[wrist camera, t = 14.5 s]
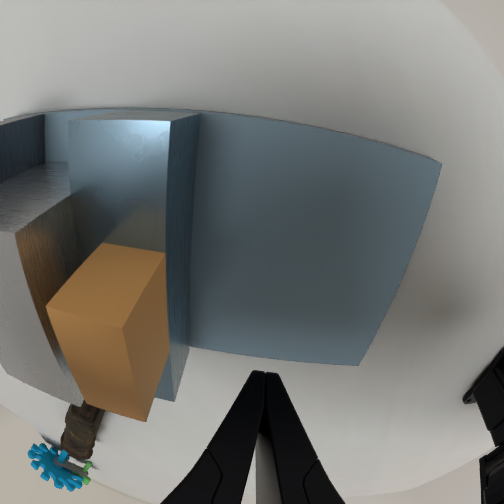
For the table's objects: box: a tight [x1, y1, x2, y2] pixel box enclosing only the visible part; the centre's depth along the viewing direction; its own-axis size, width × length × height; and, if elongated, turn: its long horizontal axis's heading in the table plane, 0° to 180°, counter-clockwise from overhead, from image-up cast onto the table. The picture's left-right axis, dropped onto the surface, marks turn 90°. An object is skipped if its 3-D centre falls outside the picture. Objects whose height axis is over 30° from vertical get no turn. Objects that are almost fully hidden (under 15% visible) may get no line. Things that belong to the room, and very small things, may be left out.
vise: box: [0, 108, 442, 366], centre depth 11 cm, size 19×11×4 cm, turn 82°
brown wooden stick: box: [61, 399, 105, 460], centre depth 20 cm, size 19×4×5 cm, turn 145°
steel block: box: [0, 161, 84, 407], centre depth 9 cm, size 4×7×6 cm, turn 172°
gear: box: [28, 443, 92, 492], centre depth 30 cm, size 11×6×10 cm
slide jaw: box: [46, 110, 201, 422], centre depth 9 cm, size 3×11×6 cm, turn 172°
